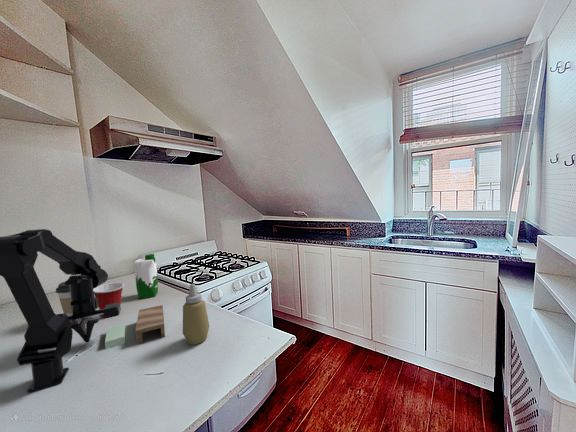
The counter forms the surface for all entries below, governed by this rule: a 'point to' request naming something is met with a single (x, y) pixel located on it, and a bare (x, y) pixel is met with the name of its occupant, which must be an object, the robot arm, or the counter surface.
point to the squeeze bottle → (195, 318)
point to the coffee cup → (65, 298)
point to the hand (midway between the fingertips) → (87, 341)
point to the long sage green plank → (115, 335)
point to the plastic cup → (108, 294)
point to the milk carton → (146, 277)
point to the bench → (149, 321)
